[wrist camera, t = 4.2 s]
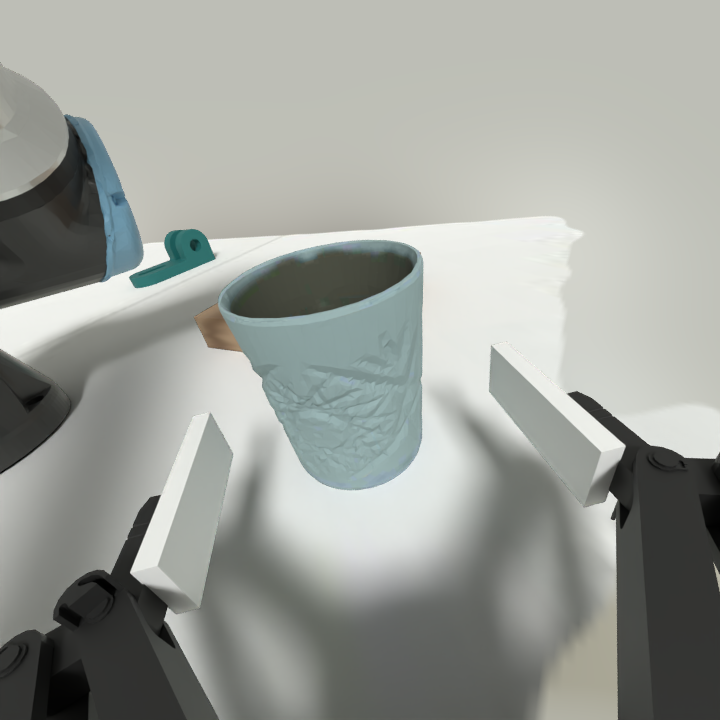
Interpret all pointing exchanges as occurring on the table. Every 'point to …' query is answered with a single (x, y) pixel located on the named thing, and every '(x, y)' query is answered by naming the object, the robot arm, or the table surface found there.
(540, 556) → the table surface
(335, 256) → the blue green cup
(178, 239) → the bracket
